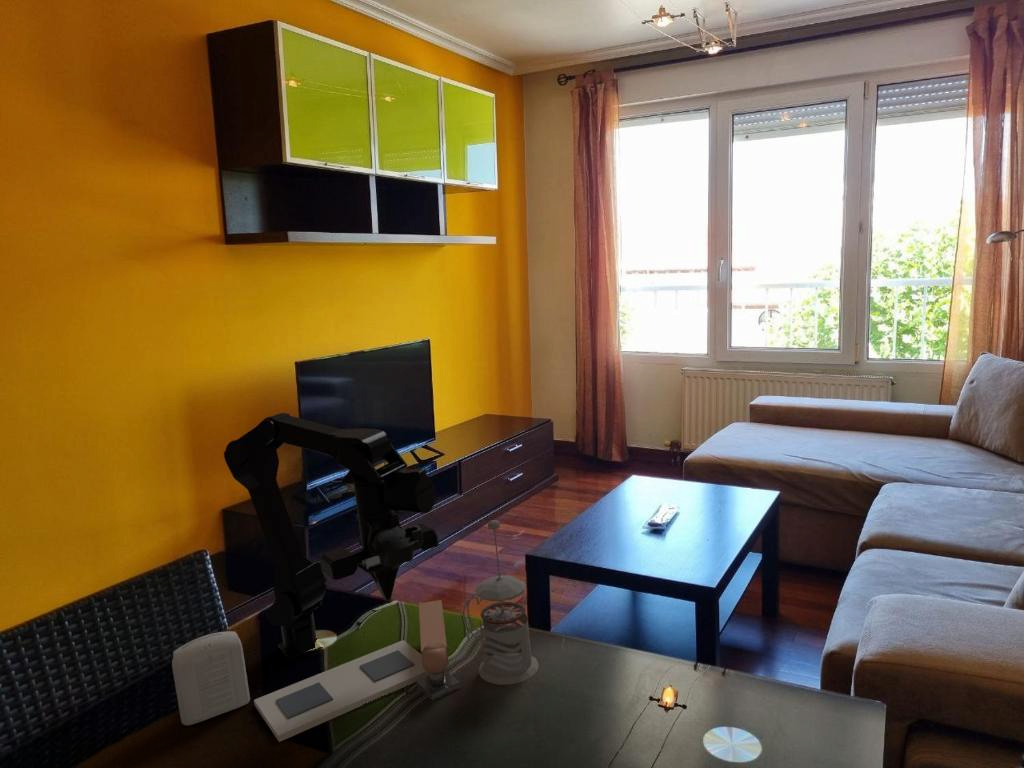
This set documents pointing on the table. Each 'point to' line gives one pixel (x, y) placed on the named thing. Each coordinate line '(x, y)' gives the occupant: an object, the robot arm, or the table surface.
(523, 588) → the french press
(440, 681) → the dark plate
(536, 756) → the table surface
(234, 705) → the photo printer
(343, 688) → the panel
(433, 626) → the cable arm
